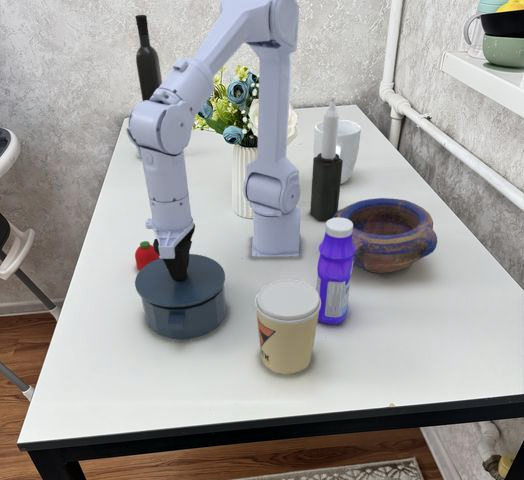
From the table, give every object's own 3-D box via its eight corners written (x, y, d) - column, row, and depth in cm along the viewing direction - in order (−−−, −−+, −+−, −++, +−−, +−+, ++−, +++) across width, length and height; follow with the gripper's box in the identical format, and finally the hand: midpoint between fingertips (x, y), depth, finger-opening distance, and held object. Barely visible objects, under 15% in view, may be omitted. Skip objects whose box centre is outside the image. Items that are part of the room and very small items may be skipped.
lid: (227, 258, 86) (225, 230, 82) (222, 310, 75) (220, 280, 71) (144, 259, 86) (139, 230, 82) (127, 310, 75) (120, 280, 71)
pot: (228, 283, 92) (226, 253, 88) (222, 352, 78) (219, 320, 74) (156, 283, 92) (150, 253, 88) (137, 352, 78) (129, 321, 74)
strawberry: (162, 261, 98) (158, 237, 94) (159, 274, 95) (154, 249, 91) (140, 261, 98) (135, 237, 94) (135, 274, 95) (130, 250, 91)
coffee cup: (254, 340, 80) (252, 279, 72) (310, 336, 81) (315, 275, 72) (258, 381, 73) (257, 319, 65) (320, 377, 74) (327, 315, 66)
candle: (320, 222, 109) (329, 101, 92) (308, 213, 112) (314, 94, 95) (339, 217, 110) (351, 97, 94) (326, 208, 114) (336, 90, 97)
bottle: (345, 329, 82) (357, 236, 70) (311, 325, 83) (318, 233, 71) (348, 303, 87) (360, 213, 75) (316, 300, 88) (323, 210, 76)
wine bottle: (151, 126, 156) (133, 13, 136) (169, 127, 155) (153, 13, 135) (146, 133, 152) (127, 17, 131) (164, 133, 151) (148, 17, 131)
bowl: (327, 238, 104) (331, 193, 97) (411, 237, 104) (421, 192, 97) (337, 287, 91) (343, 239, 84) (434, 286, 91) (447, 238, 84)
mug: (356, 197, 118) (363, 141, 109) (310, 195, 119) (313, 140, 110) (354, 171, 129) (360, 119, 120) (312, 170, 130) (315, 118, 121)
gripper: (149, 172, 75) (162, 249, 85) (130, 218, 65) (147, 300, 74) (195, 172, 75) (203, 249, 85) (183, 217, 65) (194, 300, 74)
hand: (180, 273), depth 79 cm, fingers closed on lid, 2 cm apart
